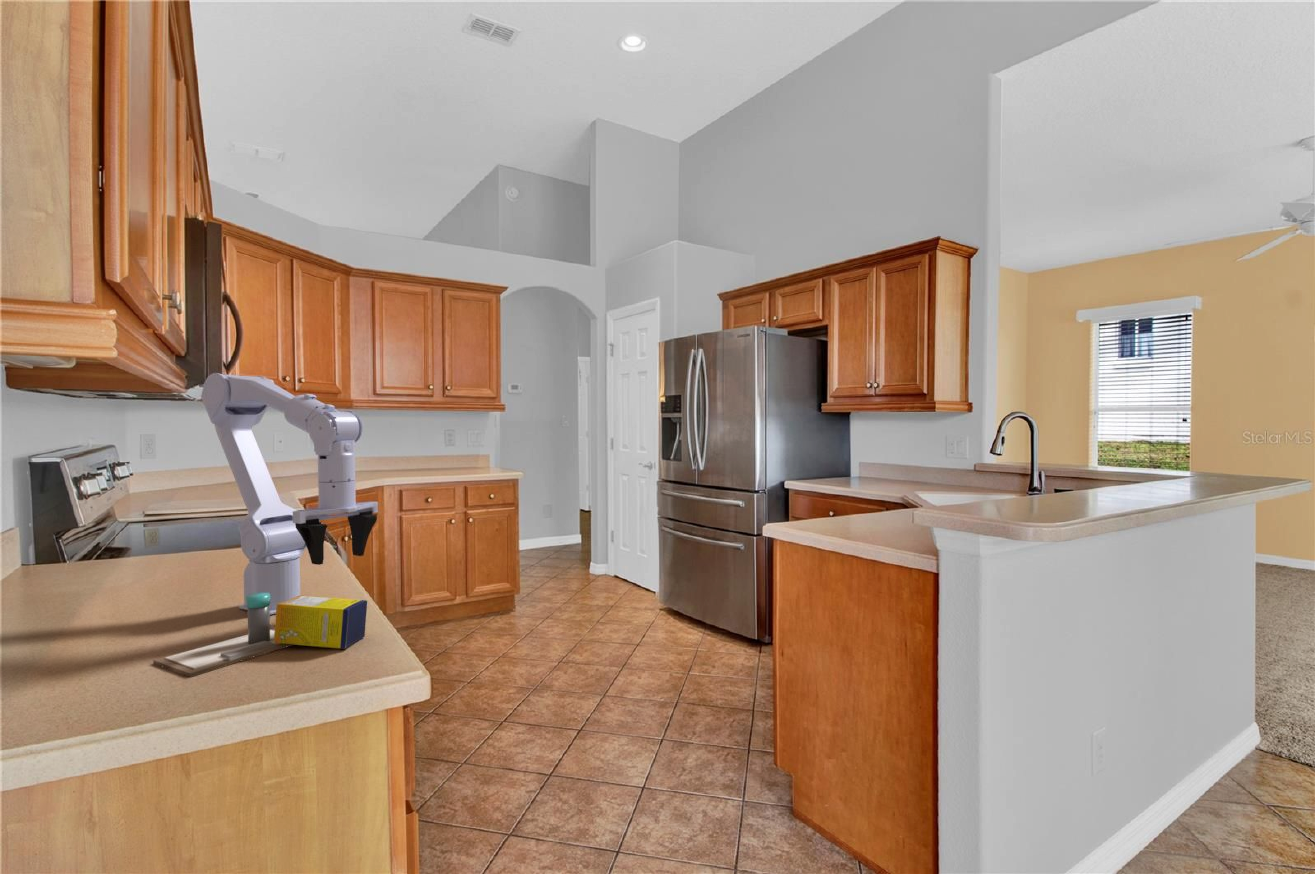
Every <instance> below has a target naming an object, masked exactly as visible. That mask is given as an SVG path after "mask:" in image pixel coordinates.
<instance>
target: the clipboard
mask: <svg viewBox="0 0 1315 874" xmlns="http://www.w3.org/2000/svg"><path fill="white" fill-rule="evenodd" d="M274 633H275V627H271V626H270V641H269V642H268V641H261V642H258V643H254V644H251V645H250V644H248V633H245V634H242V635H238V636H235V637H234V636H233V637H230V638H227V639H224V640H220V641H217V642H214V643H209V644H206V645H203V646H199V647H194V648H192V649H189V650H185V651H181V652H177V653H173V654H171V655H167V656H166V655H165V656H164V657H160V658H156V659H153V660H152V661H153V662H152V663H153V665H156V666H158V665H160V666H159V667H161V666H163V667H162V668H164V669H166V670H169V671H171V672H174V671H175V673H178V674H180V675H182V674H183V676H185V677H187V678H192V677H195V676H199V675H202V674H205V673H208V672H211V671H210V670H212V671H215V670H218V669H221V668H223V667H222V666H224V667H226V666H225V665H228V666H231V665H234V664H236V662H237V663H240V662H242V661H241V660H244V661H246V659H247V660H250V659H252V658H251V657H253V656H256V657H259V655H260V656H262V655H261V654H263V655H265V654H264V653H266V654H268V653H267V652H269V653H271V652H270V651H272V652H276V651H278V650H277V649H279V650H281V649H280V648H282V649H284V648H283V647H285V648H287V647H286V646H288V647H291V645H292V646H294V645H293V644H280V643H274ZM275 650H276V651H275ZM249 658H250V659H249ZM253 658H254V657H253ZM239 661H240V662H239ZM233 663H234V664H233ZM220 667H221V668H220ZM217 668H218V669H217ZM214 669H215V670H214Z"/></svg>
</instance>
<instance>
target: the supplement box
mask: <svg viewBox="0 0 1315 874" xmlns="http://www.w3.org/2000/svg"><path fill="white" fill-rule="evenodd" d="M367 610H368V600H366V599H353V598H340V597H326V596H317V595H316V596H315V595H314V596H313V595H306V594H305V595H304V594H300V595H299V596H297V597H295V598H292V599H290V600H288V601H286V602H283V603H279V604H277V606H276V613H275V621H274V624H275V625H274V628H275V633H274V643H280V644H293V645H292V646H294V645H296V646H307V647H316V648H317V647H318V648H330V649H341V650H343V649H347V648H349V647H350V646H352V645H354V643H357V642H358V641H359V640H362V639H364V638H363V637H366V636H365V635H366V622H367Z"/></svg>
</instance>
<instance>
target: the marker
mask: <svg viewBox="0 0 1315 874" xmlns="http://www.w3.org/2000/svg"><path fill="white" fill-rule="evenodd" d="M246 598H247V608H248V610H247V634H248V644H250V645H251V644H254V643H258V642H261V641H268V642H269V641H270V627H271V615H270V593H255V594H251V595H248V596H247V597H246Z"/></svg>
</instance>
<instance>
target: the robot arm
mask: <svg viewBox="0 0 1315 874" xmlns="http://www.w3.org/2000/svg"><path fill="white" fill-rule="evenodd" d="M200 397H201V401H202V402H203V405H204V407H205V410H206V412H207V415H208V417H209V420H210V422H211V423H212V424H213V425H214V430H215V432H216V435H217V437H218V440H219V443H220V446H221V448H222V450H223V452H224V454H225V457H226V460H227V463H228V466H229V467H230V470H231V473H232V476H233V477H234V479H235V482H236V486H237V488H238V490H239V492H240V495H241V497H242V500H243V503H244V505H245V507H246V510H247V514H246V515H245V516H244V517H243V519H242V520H241V522H240V523H239V525H238V526H237V529H238V532H239V535H240V549H241V551H242V553H243V555H244V556H245V557H246V559H248V561H249V562H248V563H247V565H246V567H245V569H244V571H243V601H244V603H243V604H241V605H240V604H239V606H238V608H239V609H240V610H245V611H248V608H247V598H246V597H247V596H248V595H251V594H255V593H270V616H271V615H276V606H277V604H279V603H283V602H286V601H288V600H290V599H292V598H295V597H297V596H299V595H301V574H300V573H301V567H300V566H301V564H300V563H301V562H300V559H301V558H300V557H302V556H304V551H305V550H306V549H307V551H308V554H309V557H310V562H311V565H318V566H320V565H323V564H324V559H325V557H324V556H325V555H324V554H325V553H324V552H325V550H324V549H325V548H324V546H325V545H324V543H325V537H326V531H327V527H328V524H326V523H322V521H324V520H331V519H338V518H345V517H347V521H348V524H349V525H348V526H349V528H350V535H351V550H352V551H351V552H352V556H356V557H357V556H358V557H363V556H364V555H365V550H366V547H367V543H368V539H369V536H370V533H371V532H372V529H373V528H374V526H375V524H376V522H377V521H378V515H377V514H375V513H379V502H378V501H365V502H364V501H363V502H357V500H356V499H357V497H356V495H357V493H356V450H355V448H356V445H355V444H356V443H357V442H358V441H359V440H360V439H361V437H362V433H363V423H362V420H361V419H360V417H359V415H357V414H356V413H355V412H354V411H352V410H343V411H339V410H337V409H335V408H336V406H335V405H332V404H329V403H328V404H325V403H323V402H322V401H320V400H318V399H317V395H315V394H313V393H311V394H310V393H305V394H299V395H293V393H290V392H289V391H287V390H285V389H283V388H282V387H280V386H279V385H277V384H275V381H274V380H273V379H270V378H267V377H265V376H263V375H258V376H253V375H249V376H248V375H237V374H222V373H219V372H213V373H211V374H209V375H208V376H207V378H206V380H205V381H204V383H203V389H202V391H201V394H200ZM268 408H271V409H273V410H276V411H277V412H281V413H283V414H284V415H283V416H284V418H285V420H286V421H287V423H288V424H290V425H292V426H294V427H296V428H297V429H300V430H302V431H304V432H306V433H307V434H309V437H310V440H311V441H312V443H313V448H314V449H313V452H315V455H317V479H318V480H317V481H318V482H317V483H318V484H317V485H318V492H317V493H318V506H316V507H311V508H307V509H298V510H297V509H295V508H294V507H291V506H289V505H287V504H285V503H283V502H282V501H281V499H280V496H279V493H278V491H277V489H276V486H275V483H274V481H273V478H272V476H271V474H270V471H269V469H268V467H267V464H266V462H265V459H264V457H263V454H262V452H261V450H260V447H259V444H258V443H257V440H256V438H255V435H254V433H253V427H254V426H256V425H258V424H260V422H261V421H262V419H263V417H264V415H265V413H266V412H267V410H268Z"/></svg>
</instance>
